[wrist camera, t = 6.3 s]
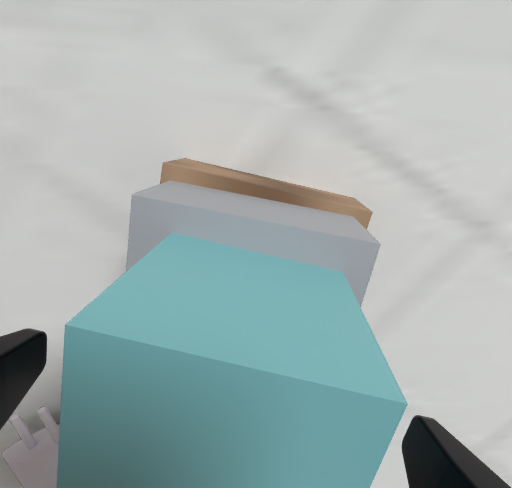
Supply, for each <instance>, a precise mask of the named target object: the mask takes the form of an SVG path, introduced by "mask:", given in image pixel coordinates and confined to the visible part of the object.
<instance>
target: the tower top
mask: <svg viewBox="0 0 512 488" xmlns="http://www.w3.org/2000/svg"><path fill="white" fill-rule="evenodd" d="M171 233H176V234H181V235H185V236H189V237H194V238H198V239H202V240H206V241H211V242H215V243H219V244H224V245H228V246H232V247H237V248H241V249H245V250H249V251H254V252H258V253H262V254H267V255H271V256H275V257H280V258H284V259H288V260H292V261H297V262H301V263H305V264H310V265H314V266H318V267H322V268H327V269H331V270H335V271H340V272H343V273H344V275H345V277H346V279H347V281H348V283H349V285H350V287H351V290H352V292H353V294H354V296H355V298H356V300H357V302H358V304H359V306H360V307H361V304H362V301H363V298H364V295H365V292H366V288H367V285H368V282H369V279H370V276H371V273H372V270H373V266H374V263H375V260H376V257H377V254H378V251H379V248H380V243H379V242H378V241H377V240H376V239H375V238H374V237H373V236H372V235H371V234H370V233H369V232H368V231H367V230H366V229H365V228H364V227H363V226H362V225H361V224H360V223H359V222H358V221H357V220H356V219H355V218H354V217H353V216H348V215H343V214H338V213H333V212H328V211H323V210H318V209H313V208H308V207H303V206H298V205H293V204H288V203H283V202H278V201H273V200H268V199H263V198H258V197H253V196H248V195H242V194H237V193H232V192H227V191H222V190H217V189H212V188H207V187H202V186H197V185H192V184H187V183H182V182H177V181H172V180H170V181H167V182H164V183H162V184H159V185H156V186H154V187H151V188H148V189H146V190H143V191H140V192H138V193H135V194H132V199H131V213H130V226H129V240H128V253H127V267H126V272H127V271H128V270H129V269H130V268H131V267H132V266H134V265H135V264H136V263H137V262H138V261H139V260H141V259H142V258H143V257H144V256H145V255H146V254H148V253H149V252H150V251H151V250H152V249H153V248H154V247H156V246H157V245H158V244H159V243H160V242H161V241H163V240H164V239H165V238H166V237H167V236H168V235H170V234H171Z"/></svg>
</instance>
